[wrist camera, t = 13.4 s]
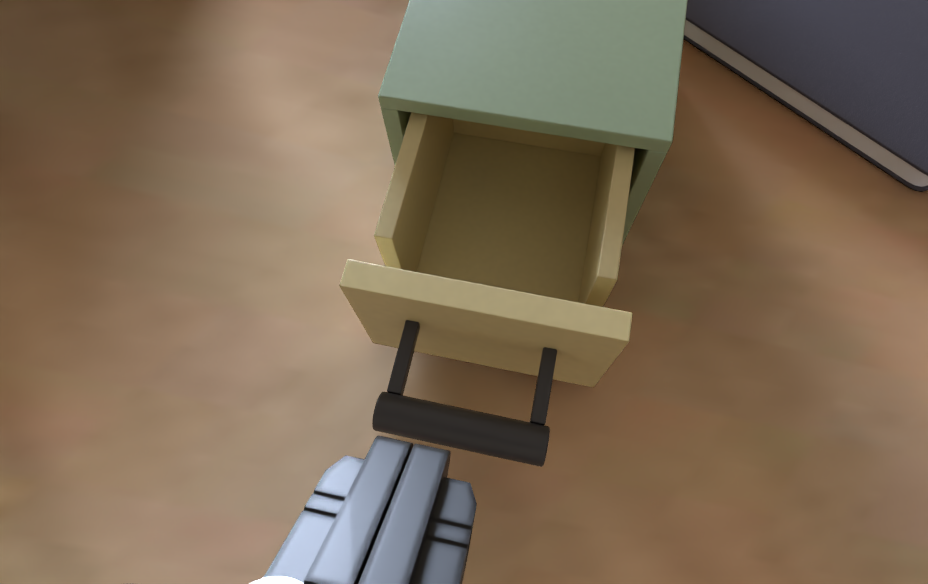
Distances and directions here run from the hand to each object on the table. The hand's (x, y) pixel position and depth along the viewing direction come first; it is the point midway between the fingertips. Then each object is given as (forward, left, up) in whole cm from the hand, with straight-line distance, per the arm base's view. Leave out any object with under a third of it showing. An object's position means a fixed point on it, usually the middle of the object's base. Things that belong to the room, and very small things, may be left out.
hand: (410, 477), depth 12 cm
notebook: (+31, +20, -18) cm, 41 cm away
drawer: (+6, +10, -17) cm, 20 cm away
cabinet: (+11, +20, -18) cm, 29 cm away
